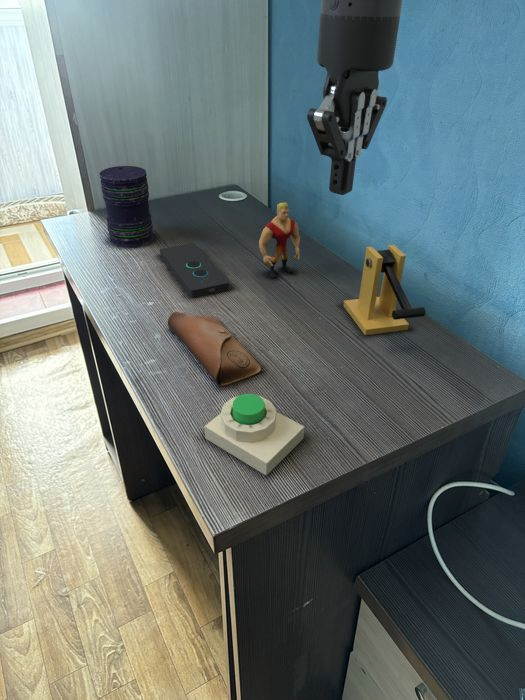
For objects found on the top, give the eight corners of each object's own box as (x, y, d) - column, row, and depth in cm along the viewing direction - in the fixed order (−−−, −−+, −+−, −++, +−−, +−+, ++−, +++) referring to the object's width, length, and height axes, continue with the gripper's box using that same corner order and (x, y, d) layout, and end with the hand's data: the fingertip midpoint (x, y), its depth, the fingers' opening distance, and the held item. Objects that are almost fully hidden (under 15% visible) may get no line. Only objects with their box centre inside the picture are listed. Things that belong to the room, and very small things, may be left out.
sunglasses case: (266, 368, 78) (247, 343, 74) (232, 400, 78) (210, 377, 73) (211, 315, 91) (192, 290, 86) (181, 341, 90) (160, 318, 85)
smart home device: (189, 290, 95) (157, 248, 110) (190, 298, 96) (158, 255, 111) (231, 281, 98) (194, 242, 113) (231, 289, 99) (195, 249, 114)
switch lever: (422, 319, 81) (428, 310, 79) (393, 323, 80) (398, 314, 78) (392, 258, 88) (397, 248, 86) (365, 261, 87) (369, 251, 85)
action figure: (265, 282, 102) (267, 208, 93) (255, 275, 105) (257, 202, 96) (304, 271, 106) (309, 200, 98) (294, 264, 109) (298, 194, 100)
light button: (270, 412, 66) (271, 402, 65) (251, 430, 63) (251, 419, 62) (246, 399, 68) (246, 389, 67) (226, 415, 65) (226, 405, 64)
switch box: (303, 438, 67) (305, 415, 65) (266, 476, 62) (267, 452, 60) (244, 406, 72) (244, 384, 70) (204, 438, 67) (203, 415, 65)
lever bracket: (408, 329, 89) (423, 262, 82) (365, 335, 87) (376, 266, 80) (383, 301, 97) (394, 237, 90) (343, 306, 95) (351, 240, 88)
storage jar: (158, 244, 116) (151, 177, 107) (113, 250, 112) (102, 181, 104) (148, 228, 123) (141, 164, 114) (106, 233, 120) (95, 168, 111)
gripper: (361, 14, 43) (339, 216, 53) (426, 11, 51) (396, 185, 61) (287, 10, 46) (279, 199, 56) (359, 7, 55) (341, 172, 65)
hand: (340, 191), depth 59 cm, fingers closed
